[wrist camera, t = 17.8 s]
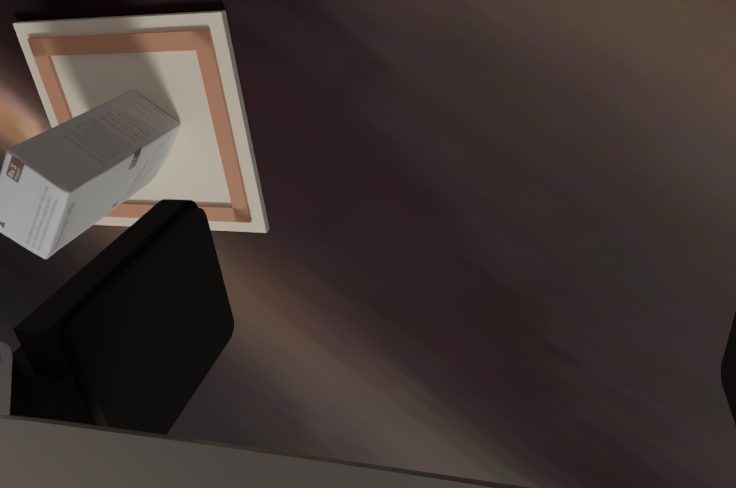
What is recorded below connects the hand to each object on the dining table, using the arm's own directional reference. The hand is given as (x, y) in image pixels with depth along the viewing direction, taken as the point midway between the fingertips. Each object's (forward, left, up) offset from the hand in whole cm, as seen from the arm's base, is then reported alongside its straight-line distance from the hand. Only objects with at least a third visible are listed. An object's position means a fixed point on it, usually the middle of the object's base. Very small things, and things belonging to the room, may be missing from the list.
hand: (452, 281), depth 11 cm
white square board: (+8, -26, -28) cm, 39 cm away
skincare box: (+8, -26, -28) cm, 39 cm away
